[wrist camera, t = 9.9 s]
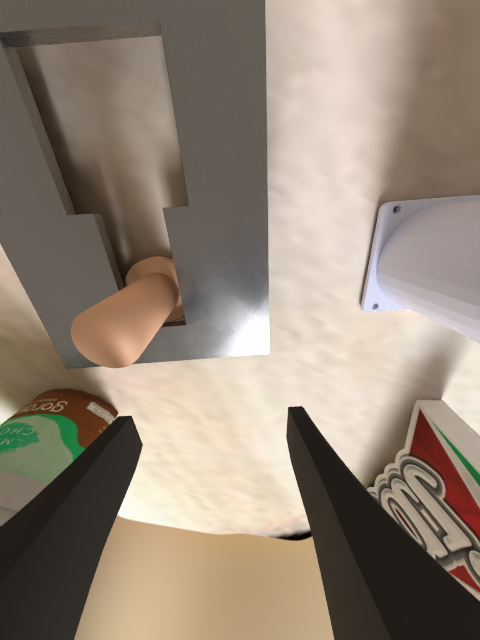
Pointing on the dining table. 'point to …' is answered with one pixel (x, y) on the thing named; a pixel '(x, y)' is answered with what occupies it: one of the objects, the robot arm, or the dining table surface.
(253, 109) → the keyhole plate
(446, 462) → the decorative sign
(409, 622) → the robot arm
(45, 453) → the food container
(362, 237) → the dining table surface
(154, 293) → the peg
